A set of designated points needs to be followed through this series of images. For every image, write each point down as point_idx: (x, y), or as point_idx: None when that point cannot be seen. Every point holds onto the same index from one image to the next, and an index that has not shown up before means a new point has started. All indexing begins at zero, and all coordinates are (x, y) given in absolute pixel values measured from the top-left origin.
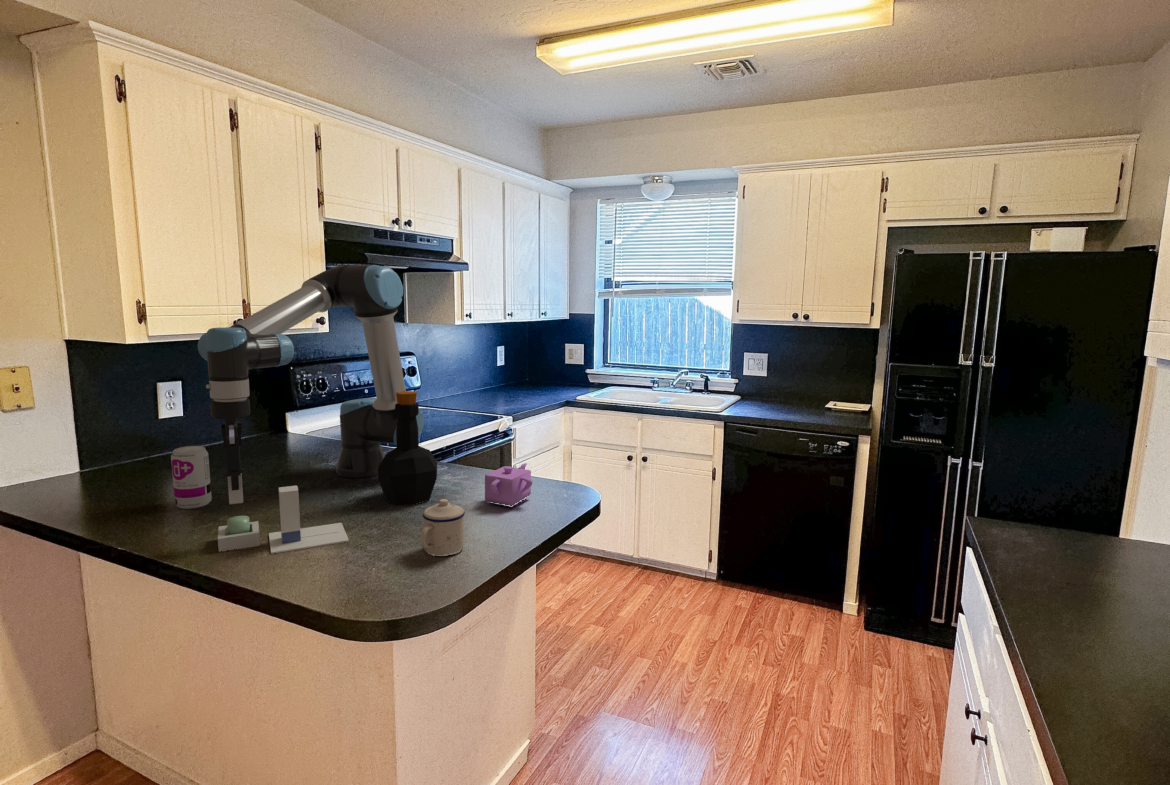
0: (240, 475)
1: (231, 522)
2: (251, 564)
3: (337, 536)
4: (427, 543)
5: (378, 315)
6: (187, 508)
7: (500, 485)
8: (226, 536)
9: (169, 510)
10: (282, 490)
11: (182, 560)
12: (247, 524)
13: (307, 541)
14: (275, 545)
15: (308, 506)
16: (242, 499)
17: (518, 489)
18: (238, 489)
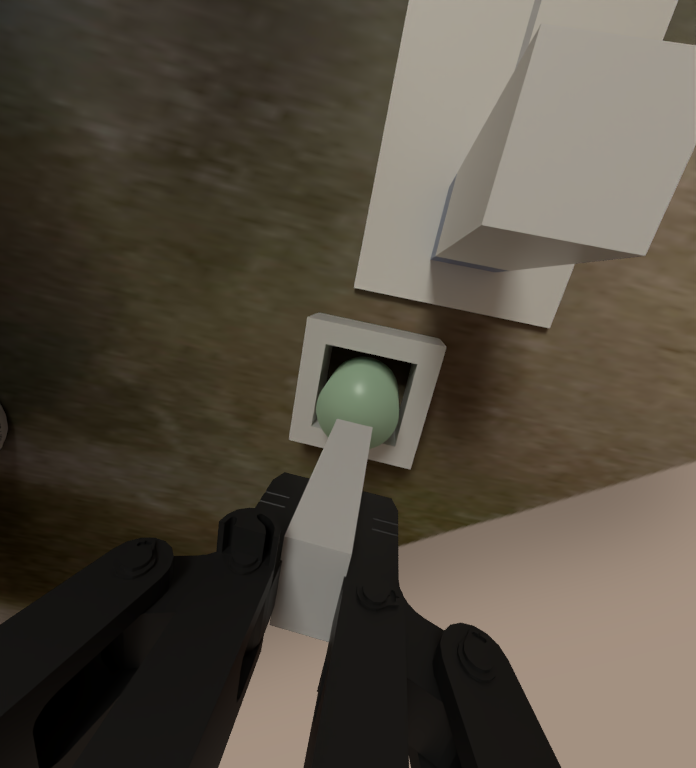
0: (349, 555)
1: (382, 441)
2: (582, 399)
3: (593, 20)
4: None
5: None
6: (6, 434)
7: None
8: (405, 444)
9: (7, 470)
10: (602, 215)
11: (406, 524)
12: (388, 380)
13: None
14: (492, 298)
15: (105, 51)
16: (370, 437)
17: None
18: (391, 503)
